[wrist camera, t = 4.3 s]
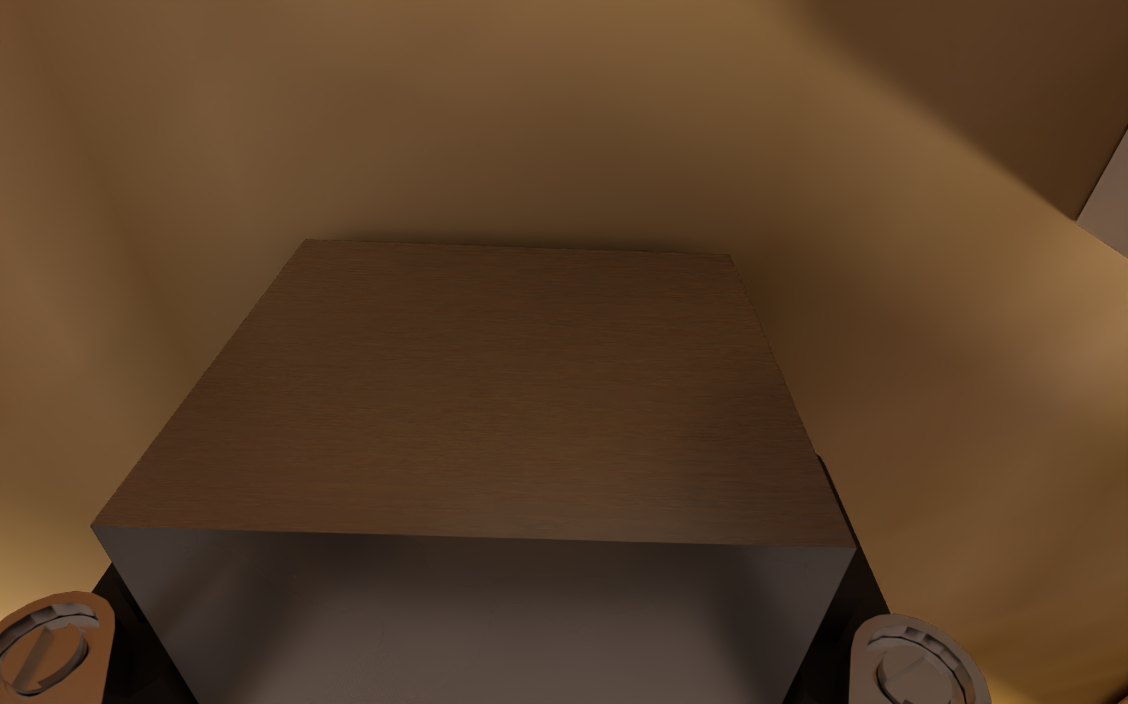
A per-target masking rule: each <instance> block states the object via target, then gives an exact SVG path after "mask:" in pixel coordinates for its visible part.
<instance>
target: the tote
mask: <svg viewBox="0 0 1128 704" xmlns="http://www.w3.org/2000/svg"><path fill="white" fill-rule="evenodd" d="M1075 224H1077V225H1078V226H1080V227H1081V228H1083V229H1084V230H1086V231H1087V232H1089V233H1090V234H1092V235H1093V236H1095V237H1096V238H1098V239H1099V240H1101V241H1102V242H1104V243H1105V244H1107V245H1108V246H1110V247H1111V248H1113V249H1114V250H1116V251H1117V252H1119V253H1120V254H1122V255H1123V256H1125V257H1126V258H1128V130H1127V131H1126V133H1125V135H1124V137H1123V139H1122V140H1121V142H1120V144H1119V146H1118V148H1117V149H1116V151H1115V153H1114V155H1113V157H1112V158H1111V160H1110V162H1109V164H1108V166H1107V167H1106V169H1105V171H1104V173H1103V175H1102V176H1101V178H1100V180H1099V182H1098V184H1097V185H1096V187H1095V189H1094V191H1093V193H1092V194H1091V196H1090V198H1089V200H1088V202H1087V203H1086V205H1085V207H1084V209H1083V211H1082V212H1081V214H1080V216H1079V218H1078V220H1077V221H1076V223H1075Z"/></svg>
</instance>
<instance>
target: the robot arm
mask: <svg viewBox="0 0 1128 704" xmlns="http://www.w3.org/2000/svg"><path fill="white" fill-rule="evenodd" d="M816 455H817V454H816ZM817 457H818V460H819V462H820V464H821V467H822V469H823V471H824V474H825V476H826V478H827V480H828V483H829V485H830V487H831V490H832V492H833V494H834V497H835V499H836V501H837V504H838V506H839V508H840V510H841V513H842V515H843V517H844V520H845V522H846V524H847V527H848V529H849V531H850V533H851V536H852V538H853V540H854V543H855V545H856V547H857V549H856V551H855V553H854V555H853V557H852V559H851V561H850V563H849V566H848V568H847V570H846V572H845V574H844V576H843V578H842V580H841V582H840V584H839V586H838V588H837V590H836V592H835V594H834V597H833V599H832V601H831V603H830V605H829V607H828V609H827V611H826V613H825V615H824V617H823V619H822V621H821V623H820V626H819V628H818V630H817V632H816V634H815V636H814V638H813V640H812V642H811V644H810V646H809V648H808V650H807V652H806V655H805V657H804V659H803V661H802V663H801V665H800V667H799V669H798V671H797V673H796V675H795V677H794V679H793V681H792V683H791V686H790V688H789V690H788V692H787V694H786V696H785V698H784V700H783V702H782V704H991V698H990V694H989V691H988V688H987V684H986V681H985V678H984V677H983V675H982V673H981V672H980V670H979V668H978V667H977V665H976V663H975V662H974V660H973V659H972V658H971V657H970V656H969V654H968V653H967V652H966V651H965V650H964V649H963V648H962V647H961V646H960V645H959V644H958V643H957V642H956V641H955V640H953V639H952V638H951V637H949V636H948V635H947V634H945V633H944V632H942V631H941V630H940V629H938V628H937V627H935V626H932V625H930V624H928V623H926V622H924V621H922V620H919V619H917V618H913V617H909V616H904V615H900V614H890V611H889V609H888V607H887V605H886V602H885V600H884V598H883V596H882V593H881V591H880V589H879V586H878V584H877V582H876V580H875V577H874V575H873V573H872V571H871V568H870V566H869V564H868V561H867V559H866V557H865V555H864V552H863V550H862V548H861V546H860V543H859V541H858V539H857V536H856V534H855V532H854V530H853V527H852V525H851V523H850V521H849V518H848V516H847V514H846V511H845V509H844V507H843V505H842V502H841V500H840V498H839V495H838V493H837V491H836V489H835V486H834V484H833V482H832V480H831V477H830V475H829V473H828V470H827V468H826V466H825V464H824V462H823V461H822V459H821V457H820V456H819V455H817ZM0 704H199V703H198V702H197V700H196V698H195V697H194V695H193V693H192V692H191V690H190V688H189V687H188V685H187V684H186V682H185V680H184V679H183V677H182V675H181V674H180V672H179V670H178V669H177V667H176V666H175V664H174V662H173V661H172V659H171V657H170V656H169V654H168V652H167V651H166V649H165V648H164V646H163V644H162V643H161V641H160V639H159V638H158V636H157V634H156V633H155V631H154V630H153V628H152V626H151V625H150V623H149V621H148V620H147V618H146V616H145V615H144V613H143V612H142V610H141V608H140V607H139V605H138V603H137V602H136V600H135V598H134V597H133V595H132V594H131V592H130V590H129V589H128V587H127V585H126V584H125V582H124V580H123V579H122V577H121V576H120V574H119V572H118V571H117V569H116V567H115V566H114V564H113V562H112V563H111V565H110V566H109V567H108V569H107V570H106V572H105V573H104V575H103V576H102V578H101V579H100V581H99V582H98V584H97V585H96V587H95V588H94V590H93V591H92V593H89V592H80V591H72V592H65V593H59V594H53V595H50V596H48V597H45V598H42V599H39V600H37V601H34V602H31V603H29V604H27V605H26V606H24V607H22V608H20V609H18V610H17V611H15V612H13V613H11V614H10V615H8V616H6V617H5V618H4V619H3V620H1V621H0ZM1117 704H1128V696H1127V697H1126V698H1124V699H1123V700H1122V701H1120V702H1119V703H1117Z"/></svg>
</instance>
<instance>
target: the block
mask: <svg viewBox="0 0 1128 704" xmlns="http://www.w3.org/2000/svg"><path fill="white" fill-rule="evenodd" d="M90 526H91V528H92V530H93V531H94V533H95V535H96V536H97V538H98V540H99V541H100V543H101V544H102V546H103V548H104V549H105V551H106V553H107V554H108V556H109V558H110V559H111V561H112V562H113V564H114V566H115V567H116V569H117V571H118V572H119V574H120V576H121V577H122V579H123V580H124V582H125V584H126V585H127V587H128V589H129V590H130V592H131V594H132V595H133V597H134V598H135V600H136V602H137V603H138V605H139V607H140V608H141V610H142V612H143V613H144V615H145V616H146V618H147V620H148V621H149V623H150V625H151V626H152V628H153V630H154V631H155V633H156V634H157V636H158V638H159V639H160V641H161V643H162V644H163V646H164V648H165V649H166V651H167V652H168V654H169V656H170V657H171V659H172V661H173V662H174V664H175V666H176V667H177V669H178V670H179V672H180V674H181V675H182V677H183V679H184V680H185V682H186V684H187V685H188V687H189V688H190V690H191V692H192V693H193V695H194V697H195V698H196V700H197V702H198V703H199V704H782V702H783V700H784V698H785V696H786V694H787V692H788V690H789V688H790V686H791V683H792V681H793V679H794V677H795V675H796V673H797V671H798V669H799V667H800V665H801V663H802V661H803V659H804V657H805V655H806V652H807V650H808V648H809V646H810V644H811V642H812V640H813V638H814V636H815V634H816V632H817V630H818V628H819V626H820V623H821V621H822V619H823V617H824V615H825V613H826V611H827V609H828V607H829V605H830V603H831V601H832V599H833V597H834V594H835V592H836V590H837V588H838V586H839V584H840V582H841V580H842V578H843V576H844V574H845V572H846V570H847V568H848V566H849V563H850V561H851V559H852V557H853V555H854V553H855V551H856V549H857V547H856V545H855V543H854V540H853V538H852V536H851V533H850V531H849V529H848V527H847V524H846V522H845V520H844V517H843V515H842V513H841V510H840V508H839V506H838V504H837V501H836V499H835V497H834V494H833V492H832V490H831V487H830V485H829V483H828V480H827V478H826V476H825V474H824V471H823V469H822V467H821V464H820V462H819V460H818V457H817V455H816V453H815V450H814V448H813V446H812V444H811V441H810V439H809V437H808V434H807V432H806V430H805V427H804V425H803V423H802V420H801V418H800V416H799V414H798V411H797V409H796V407H795V404H794V402H793V400H792V397H791V395H790V393H789V390H788V388H787V386H786V384H785V381H784V379H783V377H782V374H781V372H780V370H779V367H778V365H777V363H776V360H775V358H774V356H773V354H772V351H771V349H770V347H769V344H768V342H767V340H766V337H765V335H764V333H763V331H762V328H761V326H760V324H759V321H758V319H757V317H756V314H755V312H754V310H753V307H752V305H751V303H750V301H749V298H748V296H747V294H746V291H745V289H744V287H743V284H742V282H741V280H740V277H739V275H738V273H737V271H736V268H735V266H734V264H733V261H732V259H731V257H730V255H728V254H700V253H672V252H645V251H617V250H590V249H562V248H534V247H507V246H479V245H451V244H424V243H396V242H369V241H341V240H313V239H305V240H304V241H303V243H302V244H301V245H300V247H299V248H298V249H297V251H296V252H295V253H294V255H293V256H292V257H291V259H290V260H289V261H288V263H287V264H286V265H285V267H284V268H283V269H282V271H281V272H280V273H279V275H278V276H277V277H276V279H275V280H274V281H273V283H272V284H271V285H270V287H269V288H268V289H267V291H266V292H265V293H264V295H263V296H262V297H261V299H260V300H259V301H258V303H257V304H256V305H255V307H254V308H253V309H252V311H251V312H250V313H249V315H248V316H247V317H246V319H245V320H244V321H243V323H242V324H241V325H240V327H239V328H238V329H237V331H236V332H235V333H234V335H233V336H232V337H231V339H230V340H229V341H228V343H227V344H226V345H225V347H224V348H223V349H222V351H221V352H220V353H219V355H218V356H217V357H216V359H215V360H214V361H213V363H212V364H211V365H210V367H209V368H208V369H207V371H206V372H205V373H204V375H203V376H202V377H201V379H200V380H199V381H198V383H197V384H196V385H195V387H194V388H193V389H192V391H191V392H190V393H189V395H188V396H187V397H186V399H185V400H184V401H183V403H182V404H181V405H180V407H179V408H178V409H177V411H176V412H175V413H174V415H173V416H172V417H171V419H170V420H169V421H168V423H167V424H166V425H165V427H164V428H163V429H162V431H161V432H160V433H159V435H158V436H157V437H156V439H155V440H154V441H153V443H152V444H151V445H150V447H149V448H148V449H147V451H146V452H145V453H144V454H143V456H142V457H141V458H140V460H139V461H138V462H137V464H136V465H135V466H134V468H133V469H132V470H131V472H130V473H129V474H128V476H127V477H126V478H125V480H124V481H123V482H122V484H121V485H120V486H119V488H118V489H117V490H116V492H115V493H114V494H113V496H112V497H111V498H110V500H109V501H108V502H107V504H106V505H105V506H104V508H103V509H102V510H101V512H100V513H99V514H98V516H97V517H96V518H95V520H94V521H93V522H92V524H91V525H90Z"/></svg>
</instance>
